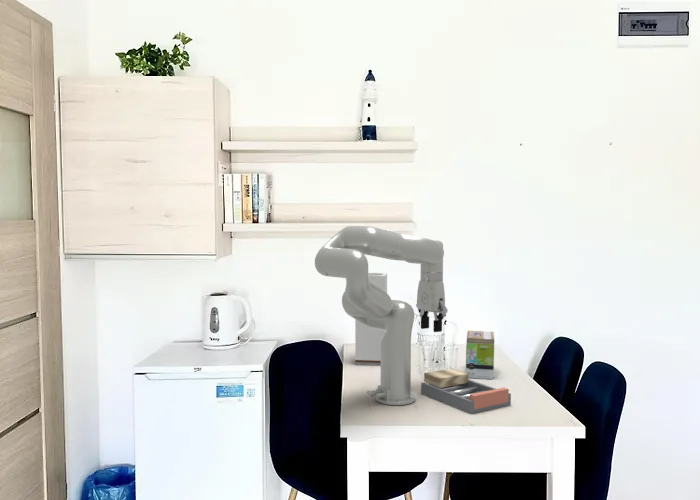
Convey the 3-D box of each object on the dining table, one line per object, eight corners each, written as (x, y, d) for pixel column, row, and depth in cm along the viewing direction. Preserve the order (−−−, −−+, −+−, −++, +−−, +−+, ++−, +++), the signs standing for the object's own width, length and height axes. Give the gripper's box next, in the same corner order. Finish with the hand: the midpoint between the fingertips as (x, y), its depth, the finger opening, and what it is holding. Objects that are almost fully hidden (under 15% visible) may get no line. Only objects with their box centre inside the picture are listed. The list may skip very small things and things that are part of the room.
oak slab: (439, 388, 198) (439, 378, 198) (424, 382, 205) (424, 373, 205) (468, 382, 204) (468, 373, 204) (452, 377, 211) (452, 368, 211)
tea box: (494, 379, 220) (494, 338, 219) (465, 378, 222) (465, 337, 221) (493, 369, 235) (493, 330, 234) (466, 367, 237) (466, 329, 236)
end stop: (474, 409, 183) (474, 396, 183) (469, 407, 185) (469, 394, 185) (508, 401, 190) (508, 389, 190) (503, 400, 192) (503, 387, 192)
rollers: (471, 407, 185) (471, 401, 185) (426, 389, 204) (426, 383, 204) (501, 400, 192) (501, 394, 192) (454, 383, 210) (454, 378, 210)
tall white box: (386, 359, 250) (387, 273, 248) (384, 366, 240) (384, 275, 237) (358, 358, 252) (358, 272, 250) (355, 365, 241) (355, 275, 239)
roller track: (471, 414, 183) (471, 402, 182) (421, 393, 203) (421, 382, 203) (510, 405, 191) (510, 393, 191) (458, 386, 211) (458, 376, 211)
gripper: (407, 275, 215) (407, 327, 216) (439, 280, 200) (438, 335, 201) (424, 274, 219) (424, 325, 220) (457, 278, 204) (456, 333, 205)
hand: (431, 329), depth 210 cm, fingers open, 6 cm apart
